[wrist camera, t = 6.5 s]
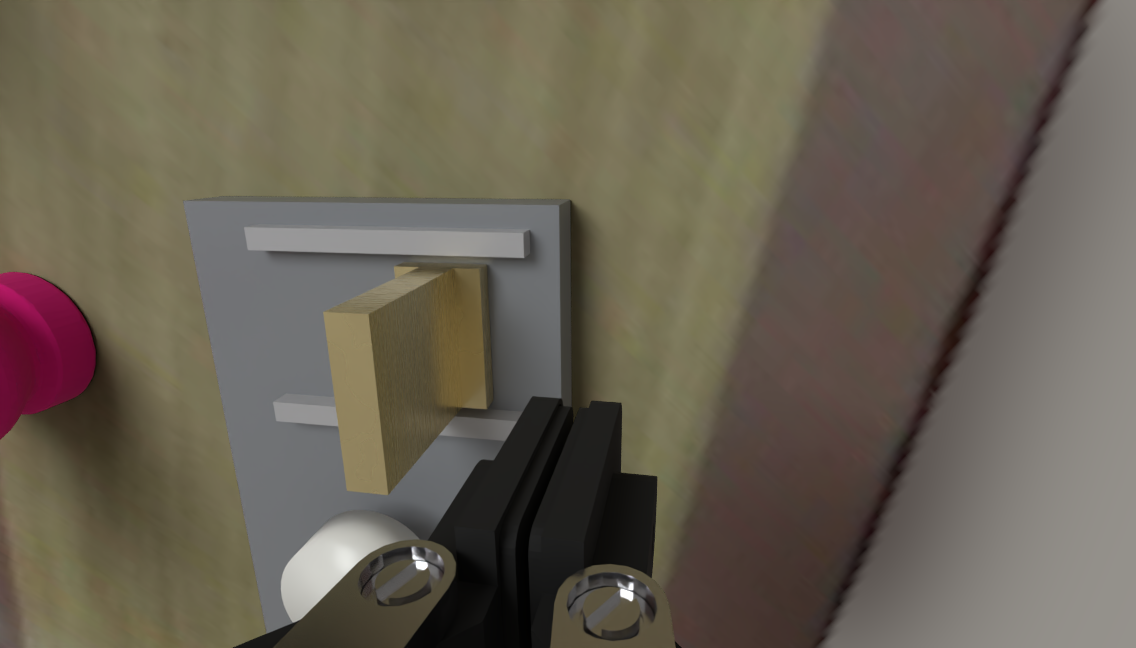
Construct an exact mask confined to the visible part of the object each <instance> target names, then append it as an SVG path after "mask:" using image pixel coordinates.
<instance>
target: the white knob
mask: <svg viewBox="0 0 1136 648" xmlns="http://www.w3.org/2000/svg"><path fill="white" fill-rule="evenodd" d="M415 539H418V540H420V539H419V538H418V537H417V536H416V535H415V534H414V533H413V532H412V531H411V530H410V529H409V528H407V527H406V526H405V525H403V524H402V523H400V522H399V521H397V520H395V519H393V518H391V517H389V516H387V515H384V514H381V513H378V512H374V511H368V510H351V511H346V512H343V513H340V514H337V515H336V516H334V517H332V518H330V519H329V520H328V521H327V522H326V523H325V524H324V525H323V526H322V527H321V528H320V529H319V530H318V531H317V532H316V533H315V534H314V535H313V536H312V537H311V538H310V540H309V541H308V542H307V543H306V544H305V545H304V546H303V547H302V548H301V549H300V550H299V551H298V552H297V553H296V554H295V555H294V556H293V558H292V559H291V560H290V561H289V562H288V564H287V565H286V567H285V569H284V572H283V574H282V579H281V595H282V600H283V604H284V606H285V609H286V611H287V613H288V615H289V617H290V619H291V620H292V622H293V623H294V622H296V621H298V620H301V619H302V618H303V617H304V616H305V615H306V614H307V613H308V612H309V611H310V610H311V609H312V608H313V607H314V606H315V605H316V604H317V603H318V602H319V601H320V600H321V599H322V598H323V597H324V596H325V595H326V594H327V593H328V592H329V591H330V590H331V589H332V588H333V587H334V586H335V585H336V584H337V583H338V582H339V581H340V580H341V579H342V578H343V577H344V576H345V575H346V574H347V573H348V572H349V571H350V570H351V569H352V568H353V567H354V566H355V565H356V564H357V563H358V562H359V561H360V560H362V559H363V558H364V557H365V556H367V555H368V554H369V553H371V552H373V551H375V550H377V549H379V548H381V547H383V546H385V545H388V544H391V543H395V542H398V541H404V540H415Z"/></svg>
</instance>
